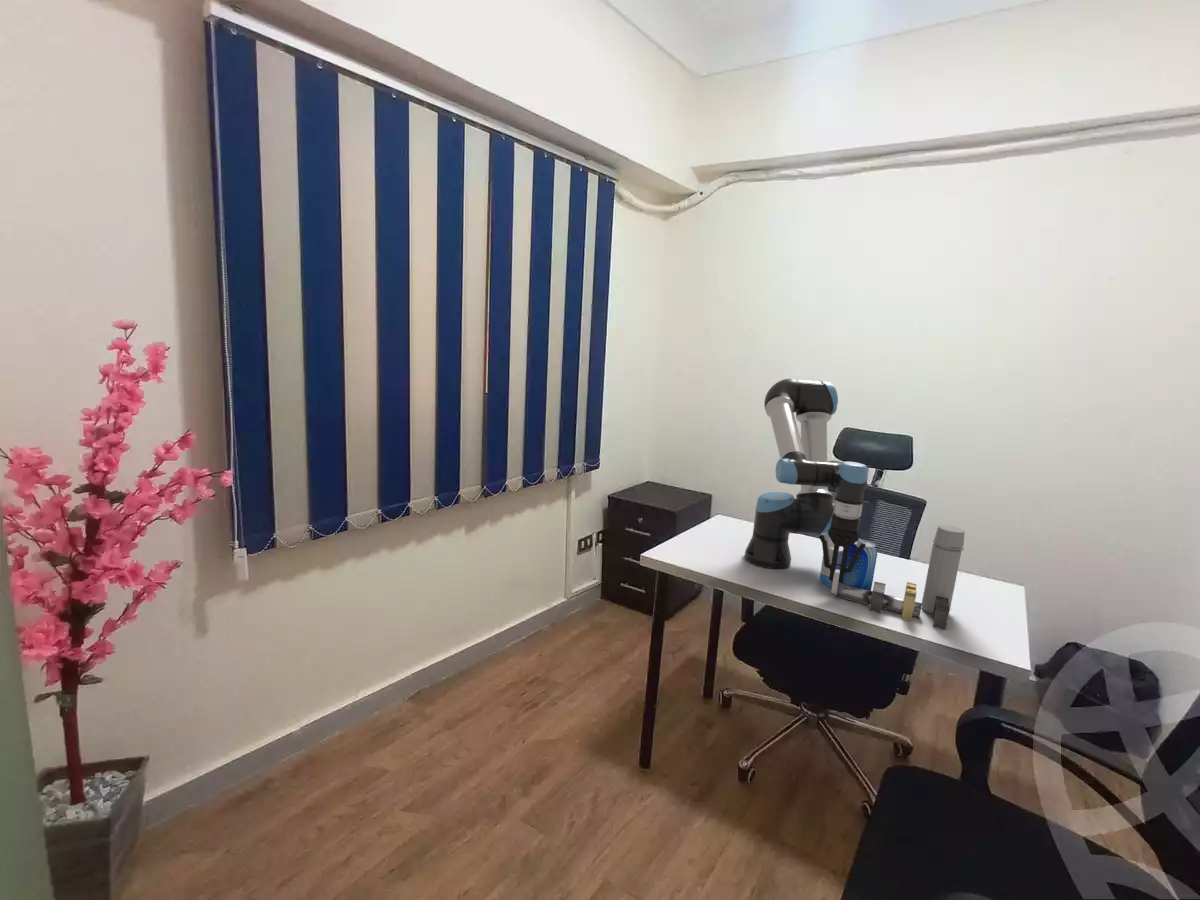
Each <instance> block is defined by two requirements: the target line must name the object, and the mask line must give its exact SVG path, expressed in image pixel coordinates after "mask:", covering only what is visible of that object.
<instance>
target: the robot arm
mask: <svg viewBox="0 0 1200 900" xmlns="http://www.w3.org/2000/svg"><path fill="white" fill-rule="evenodd" d="M763 403H764V411H765V414H766V415H767V417H769V418H770V421H771V426H772V430H773V434H774V437H775V442H776V446H777V450H778V454H779V459H778V460H777V462H776V465H775V478H776V480H777V482H779V483H781V484H785V485H786V484H787V485H798V486H800V490H799V491H798V492H797V494H796V498H795V496H794V495H793V494H791V493H788V492H784V491H770V492H765V493H762V494H760V495H759V496H758V498H757V501H756V505H755V514H754V522H753V530H752V536H751V538H750V540H749V542H748V544H747V546H746V547H745V548H746V549H745V552H744V559H745V560H746V561H747V562H749V563H750V564H752V565H755V566H757V567H761V568H766V569H772V570H773V569H774V570H775V569H776V570H781V569H782V570H783V569H786V568H789V567H790V566H791V562H792V556H791V549H790V545H789V538H790V534H795V535H811V536H816V537H819V539H820V542H821V545H822V546H821V547H822V553H823V554H822V557H823V556H824V566H825V567H826V568H829V569H830V577H829V580H830V581H833V584H832V586H831V591H830V593H831V594H834V595H836V593H837V588H838V584H839V583H842V582H843V579H844V573H846V572H848V573H850V572H851V571H852V568H853V566H854V564H855V562H856V560H857V558H858V556H859V554H860V551H861V550H862V549H864V548H865V546H866V542H863V541H862V540H863V539H861V538H860V535H859V529H860V524H861V523H860V522H861V518H860V517H861V516H862V511H863V503H864V498H865V492H866V486H867V481H868V470H869V469H868V466H867V465H866V464H864V463H860V462H857V461H856V462H855V461H839V460H835V459H834V460H832V459H831V460H828V422H829V421H830V420H831V419H832V415H834V414H835V413H836V411H837V409H838V404H839V397H838V392H837V389H836V387H835V385H834V384H833V383H831V382H830V381H823V380H819V379H818V380H810V379H799V378H798V379H797V378H784V379H781V380H779V381H777V382H775V383H774V384H773V385H772V386H771V387H770V388H769V389H768V391H767V393H766V395H765V396H764V402H763ZM794 413H795V415H794ZM795 418H796V419H795ZM797 421H798V422H799V423H800V432H799V428H798V425H797ZM829 488H834V489H835V496H833V495H834V494H833V493H831V491H829ZM833 497H834V498H833ZM828 537H830V539H831V541H832V542H833V544H834V550H833V557H832V563H830V559H829V550H828V541H827V540H828ZM855 542H857V545H856V546H857V549H856V551H855V553H854V555H853V557H852V559H851V562H850V564H849V566H848V567H846V561H847V555H848V549H849V547H850V546H852V545H853V544H854V543H855ZM839 546H842V547H843V554H842V560H841V567H840V570H837V569H836V564H837V558H838V551H839Z"/></svg>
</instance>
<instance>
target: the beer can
mask: <svg viewBox="0 0 1200 900" xmlns="http://www.w3.org/2000/svg"><path fill="white" fill-rule="evenodd" d="M861 540H862V541H863V542H866V546H865V548H864V549H862V550H861V551H860V554H859V556H858V558H857V560H856V562H855V564H854V566H853V568H852V571H851V572H850V573H848V572H846V573H844V579H843V582H842V583H841V584H845V585H849V586H853V587H857V588H861V589H865V590H869V591H872V589H873V588H872V587H873V582H874V576H875V569H876V564H877V558H878V551H877V548H876V544H875V543H874V542H872V541H869V540H867V539H861ZM856 545H857V542H855V543H854V544H853V545H852V546H850V547H849V549H848V555H847V561H846V567H848V566H849V564H850V562H851V559H852V557H853V555H854V553H855V551H856V549H857V546H856Z"/></svg>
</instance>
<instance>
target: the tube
mask: <svg viewBox="0 0 1200 900" xmlns="http://www.w3.org/2000/svg"><path fill="white" fill-rule="evenodd" d="M872 592H873V590H871V591H869V590H865V589H861V588H857V587H853V586H849V585H845V584H840V583H839V584H838V588H837V593H836V594H835V596H836V597H837V598H842V599H845V600H848V601H853V602H857V603H861V604H865V605H868V606H870V603H871V597H872ZM904 602H905V599H904V598H902V597H898V596H893V595H890V594H885V593H884V598H883V604H882V609H884V610H889V611H893V612H896V613H900V614H902V613H903V607H904ZM921 610H922V602H917V601H915V604H914V609H913V614H912V617H914V618H915V617H916V618H920V616H921V613H922V612H921Z"/></svg>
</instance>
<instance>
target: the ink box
mask: <svg viewBox="0 0 1200 900" xmlns="http://www.w3.org/2000/svg"><path fill="white" fill-rule="evenodd" d="M827 541H828V550H829V559H830V563H832V557H833V550H834V544H833V542H832V540H831V539H830V537H829V536H828V540H827ZM842 554H843V547H842V546H839V551H838V558H837V564H836V569H837V570H840V567H841V560H842ZM820 567H821V568H820V573H819V580H818V581H819V582H821V583H822V584H826V585H827V586H830V587H832V584H833V581H830V580H829V577H830V569H829V568H826V567H825V566H824V556H823V555H822V559H821V566H820ZM840 584H841V583H840Z"/></svg>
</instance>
